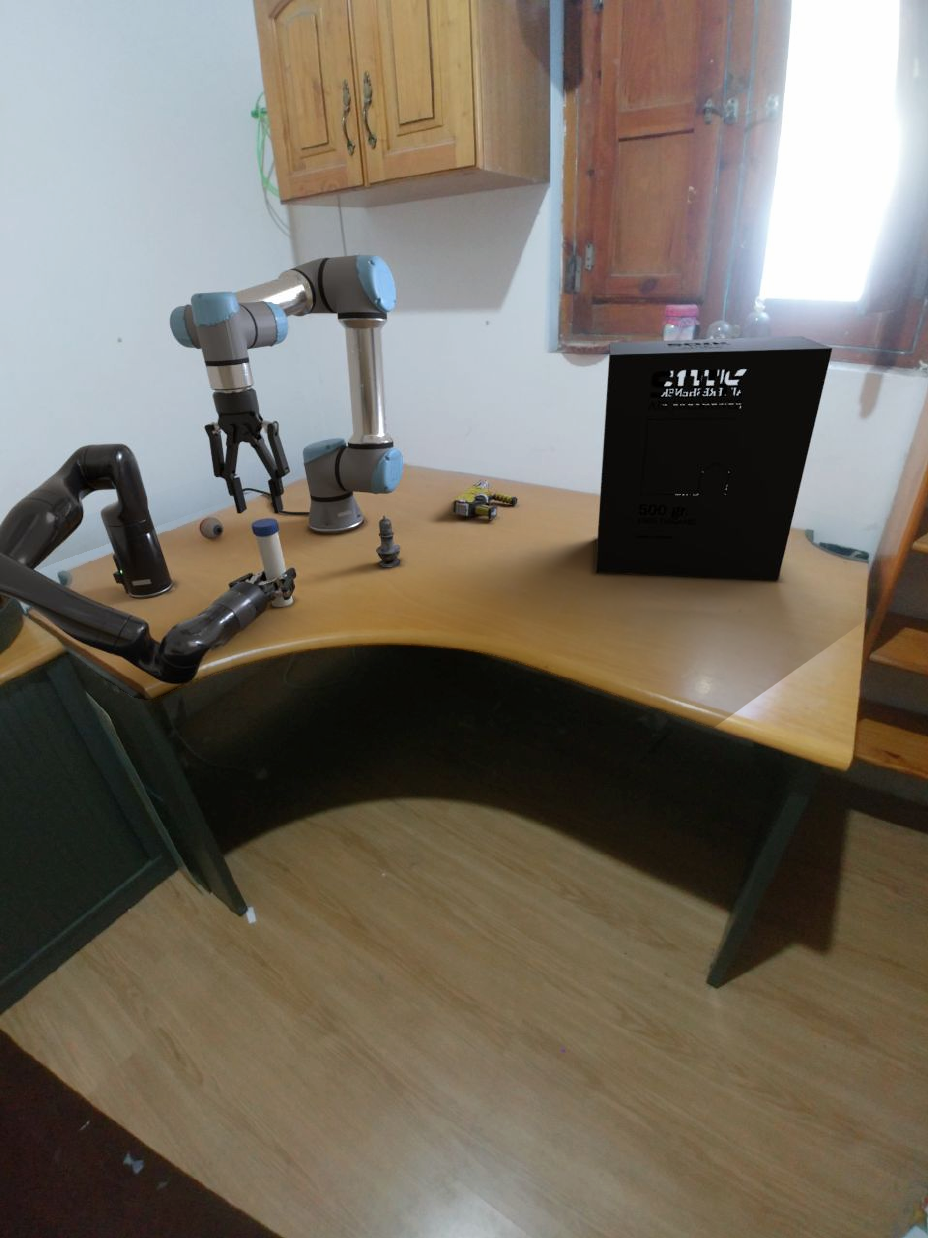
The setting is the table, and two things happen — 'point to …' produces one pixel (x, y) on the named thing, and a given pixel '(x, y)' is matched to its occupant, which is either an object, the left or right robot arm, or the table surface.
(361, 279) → the right robot arm
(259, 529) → the lid
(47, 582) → the left robot arm
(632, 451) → the cardboard box
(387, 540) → the grey upright turned piece
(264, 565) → the jar
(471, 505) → the toy gun
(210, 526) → the eyeball
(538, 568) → the table surface
